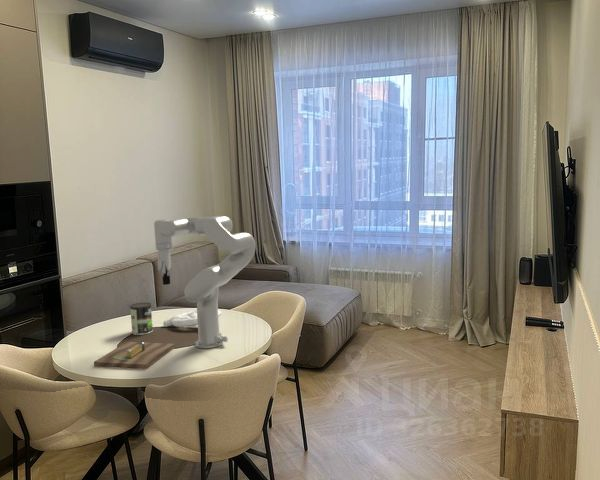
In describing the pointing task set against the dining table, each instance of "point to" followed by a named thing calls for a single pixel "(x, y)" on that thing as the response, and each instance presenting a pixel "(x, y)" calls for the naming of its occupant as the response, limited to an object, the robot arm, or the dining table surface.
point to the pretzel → (184, 319)
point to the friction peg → (135, 349)
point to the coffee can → (141, 318)
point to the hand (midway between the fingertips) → (166, 284)
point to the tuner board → (138, 361)
